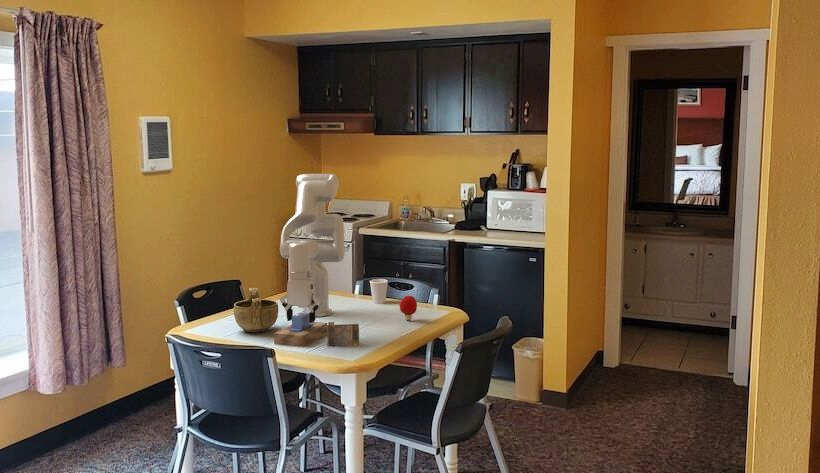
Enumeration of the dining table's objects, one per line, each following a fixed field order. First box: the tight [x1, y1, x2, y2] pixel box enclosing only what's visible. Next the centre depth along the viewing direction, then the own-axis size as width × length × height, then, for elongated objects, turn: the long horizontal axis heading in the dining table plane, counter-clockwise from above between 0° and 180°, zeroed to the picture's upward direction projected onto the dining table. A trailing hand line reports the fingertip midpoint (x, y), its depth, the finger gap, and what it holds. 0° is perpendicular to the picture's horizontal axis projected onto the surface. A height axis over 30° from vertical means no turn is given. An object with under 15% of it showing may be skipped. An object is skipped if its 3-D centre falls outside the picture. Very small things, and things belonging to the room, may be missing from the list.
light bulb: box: [399, 295, 418, 322], centre depth 320 cm, size 9×7×10 cm
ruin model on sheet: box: [327, 320, 360, 347], centre depth 285 cm, size 11×3×10 cm, turn 97°
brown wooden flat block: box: [273, 321, 328, 348], centre depth 294 cm, size 12×20×4 cm, turn 161°
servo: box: [289, 311, 313, 332], centre depth 294 cm, size 11×4×9 cm, turn 160°
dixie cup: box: [369, 278, 389, 305], centre depth 354 cm, size 8×8×10 cm
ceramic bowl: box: [233, 287, 279, 333], centre depth 306 cm, size 22×17×15 cm
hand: (301, 321), depth 294 cm, fingers open, 8 cm apart
